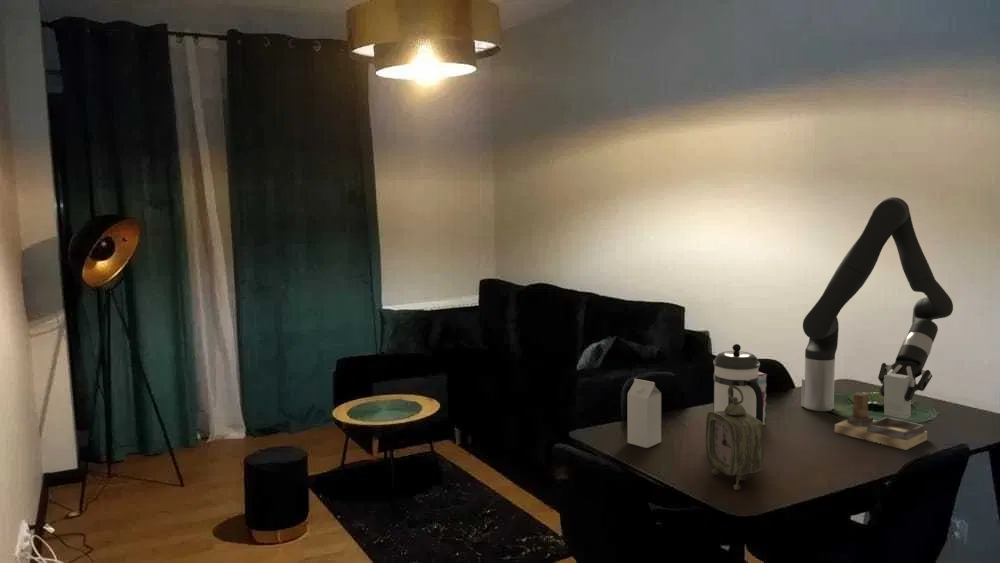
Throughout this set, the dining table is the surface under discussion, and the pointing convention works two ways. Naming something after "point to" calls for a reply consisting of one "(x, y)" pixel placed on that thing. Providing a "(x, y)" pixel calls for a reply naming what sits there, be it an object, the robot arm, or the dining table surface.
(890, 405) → the skincare box
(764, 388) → the candy bar box
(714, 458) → the tabletop clock
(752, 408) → the coffee press
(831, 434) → the dining table surface
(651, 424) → the milk carton
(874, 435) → the wooden board
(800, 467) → the dining table surface
